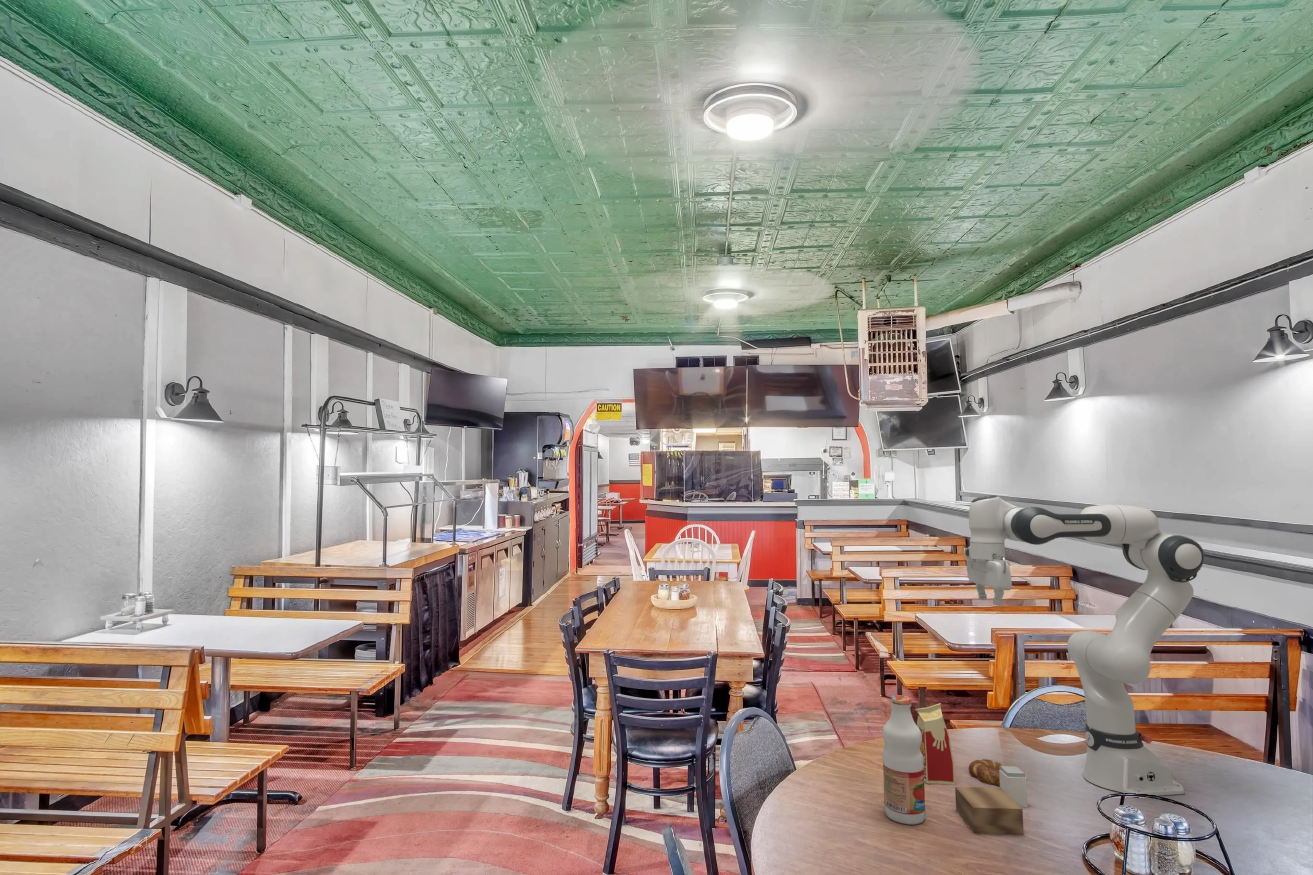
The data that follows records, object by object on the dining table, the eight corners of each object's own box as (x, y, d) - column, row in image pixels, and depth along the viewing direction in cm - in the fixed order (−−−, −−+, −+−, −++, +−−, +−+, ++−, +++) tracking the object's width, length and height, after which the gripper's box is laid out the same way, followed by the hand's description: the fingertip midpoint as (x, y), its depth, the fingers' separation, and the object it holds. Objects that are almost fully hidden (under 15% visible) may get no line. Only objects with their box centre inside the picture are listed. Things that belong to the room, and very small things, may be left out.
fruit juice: (883, 804, 165) (880, 690, 168) (923, 809, 162) (919, 693, 165) (885, 822, 156) (881, 701, 159) (927, 828, 153) (922, 705, 156)
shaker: (1019, 798, 168) (1017, 766, 169) (1027, 806, 164) (1026, 773, 164) (1000, 797, 169) (999, 765, 169) (1009, 806, 164) (1007, 773, 165)
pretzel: (1023, 788, 175) (1022, 774, 175) (982, 788, 175) (981, 773, 175) (1001, 769, 187) (1000, 756, 187) (962, 768, 187) (962, 755, 187)
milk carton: (945, 771, 185) (942, 698, 187) (957, 785, 176) (953, 708, 178) (912, 769, 186) (909, 697, 188) (922, 783, 177) (919, 707, 179)
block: (1002, 813, 161) (1000, 787, 162) (1023, 836, 150) (1022, 808, 151) (956, 811, 162) (955, 786, 162) (974, 834, 151) (973, 807, 151)
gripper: (1016, 556, 175) (1019, 608, 174) (983, 550, 195) (985, 597, 194) (992, 556, 175) (995, 608, 174) (961, 550, 196) (964, 596, 194)
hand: (989, 602), depth 184 cm, fingers open, 8 cm apart
